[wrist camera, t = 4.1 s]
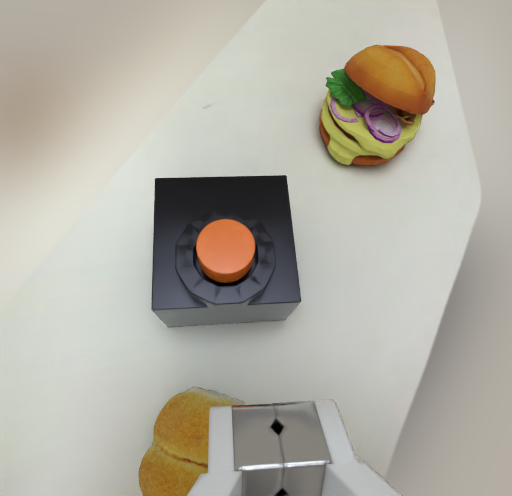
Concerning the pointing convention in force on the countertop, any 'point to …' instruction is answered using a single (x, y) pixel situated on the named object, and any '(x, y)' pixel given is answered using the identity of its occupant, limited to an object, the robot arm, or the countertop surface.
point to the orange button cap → (225, 250)
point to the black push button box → (186, 260)
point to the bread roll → (180, 443)
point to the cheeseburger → (376, 104)
